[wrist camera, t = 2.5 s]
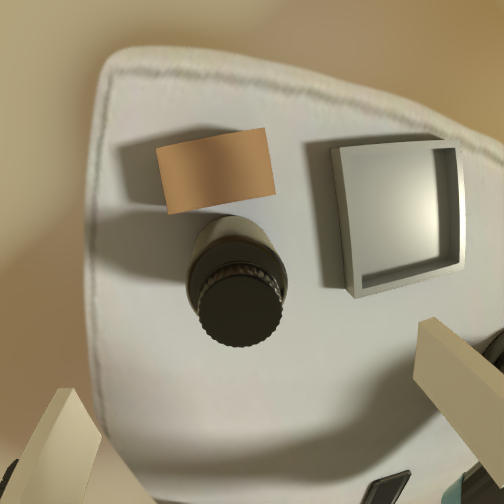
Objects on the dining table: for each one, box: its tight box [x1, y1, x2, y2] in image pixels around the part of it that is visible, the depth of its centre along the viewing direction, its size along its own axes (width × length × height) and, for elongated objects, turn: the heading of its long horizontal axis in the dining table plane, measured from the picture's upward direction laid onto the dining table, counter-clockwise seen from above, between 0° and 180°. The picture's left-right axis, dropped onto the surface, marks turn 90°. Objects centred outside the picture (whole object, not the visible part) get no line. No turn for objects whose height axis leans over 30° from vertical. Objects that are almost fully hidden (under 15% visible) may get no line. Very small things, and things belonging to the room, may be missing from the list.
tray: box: [330, 139, 465, 299], centre depth 29 cm, size 14×14×2 cm
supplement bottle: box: [186, 216, 288, 348], centre depth 24 cm, size 7×7×12 cm
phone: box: [363, 470, 411, 504], centre depth 44 cm, size 8×1×15 cm
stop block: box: [156, 128, 276, 215], centre depth 25 cm, size 8×5×4 cm, turn 100°
